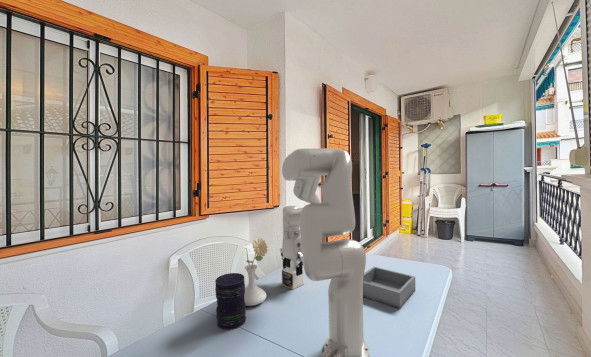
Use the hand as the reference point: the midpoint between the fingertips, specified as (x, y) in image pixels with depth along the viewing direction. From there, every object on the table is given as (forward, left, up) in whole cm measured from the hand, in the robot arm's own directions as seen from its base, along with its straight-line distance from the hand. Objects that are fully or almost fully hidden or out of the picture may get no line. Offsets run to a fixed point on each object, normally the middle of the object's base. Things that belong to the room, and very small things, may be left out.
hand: (292, 271), depth 116 cm
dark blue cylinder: (-34, -2, -6) cm, 35 cm away
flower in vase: (-20, +3, -6) cm, 21 cm away
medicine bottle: (0, 0, -6) cm, 6 cm away
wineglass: (+38, -5, -6) cm, 39 cm away
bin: (+18, -35, -6) cm, 40 cm away
